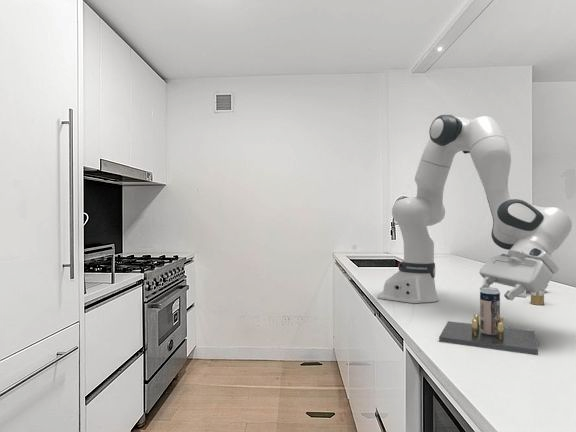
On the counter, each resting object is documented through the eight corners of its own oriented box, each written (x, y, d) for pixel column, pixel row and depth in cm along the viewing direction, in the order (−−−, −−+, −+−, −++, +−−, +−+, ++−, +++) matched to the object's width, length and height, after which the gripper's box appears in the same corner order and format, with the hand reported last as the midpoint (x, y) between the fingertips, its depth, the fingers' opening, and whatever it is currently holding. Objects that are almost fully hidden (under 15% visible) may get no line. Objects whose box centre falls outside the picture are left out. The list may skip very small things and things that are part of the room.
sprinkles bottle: (545, 305, 153) (546, 268, 153) (531, 304, 154) (531, 267, 154) (542, 303, 157) (542, 266, 157) (528, 302, 159) (528, 266, 159)
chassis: (439, 341, 110) (439, 321, 110) (448, 325, 126) (448, 307, 126) (538, 354, 100) (538, 332, 99) (534, 335, 115) (534, 316, 115)
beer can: (498, 337, 109) (498, 290, 109) (478, 334, 112) (478, 288, 112) (501, 333, 113) (501, 288, 113) (481, 330, 116) (481, 286, 116)
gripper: (492, 246, 125) (462, 280, 123) (550, 252, 105) (515, 293, 103) (505, 261, 126) (476, 295, 124) (565, 270, 106) (531, 311, 104)
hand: (494, 294), depth 113 cm, fingers open, 8 cm apart
